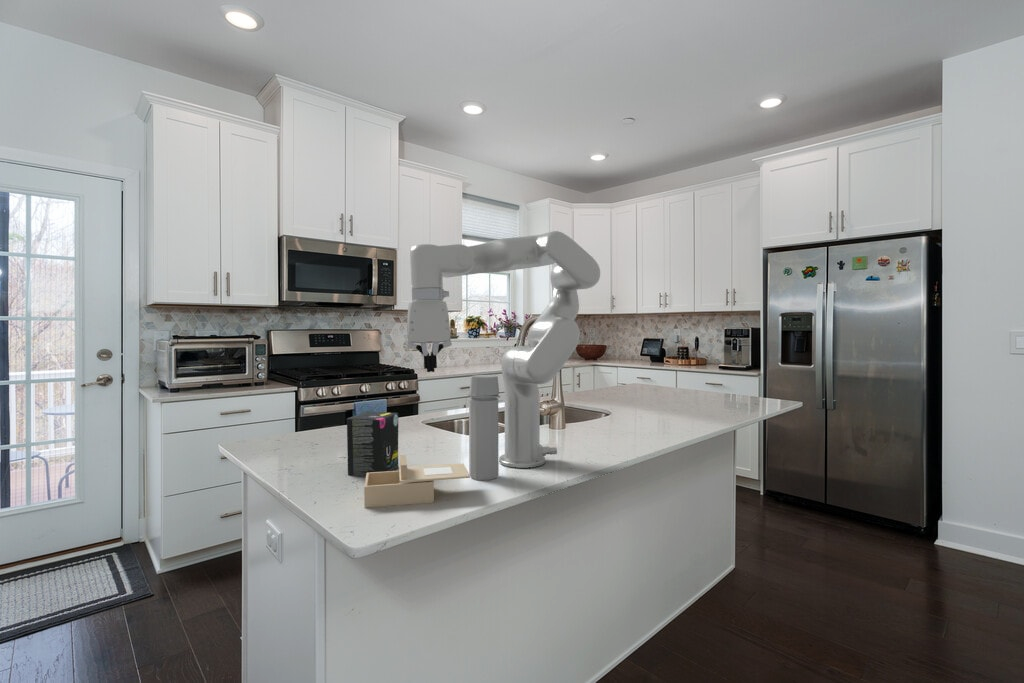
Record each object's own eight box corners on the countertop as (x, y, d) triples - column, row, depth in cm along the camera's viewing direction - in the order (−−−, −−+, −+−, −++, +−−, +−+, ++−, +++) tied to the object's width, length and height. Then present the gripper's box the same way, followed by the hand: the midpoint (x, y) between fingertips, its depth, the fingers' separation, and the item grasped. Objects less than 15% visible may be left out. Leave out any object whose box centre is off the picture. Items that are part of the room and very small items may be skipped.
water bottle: (489, 484, 120) (489, 378, 119) (462, 479, 124) (461, 376, 123) (509, 474, 128) (509, 375, 127) (482, 470, 132) (482, 373, 131)
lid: (463, 465, 119) (463, 450, 119) (469, 477, 109) (469, 462, 109) (399, 469, 115) (398, 454, 115) (399, 482, 106) (399, 466, 106)
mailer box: (430, 488, 117) (430, 468, 117) (433, 503, 108) (433, 481, 107) (366, 493, 114) (366, 472, 114) (364, 509, 104) (364, 486, 104)
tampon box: (381, 479, 125) (380, 419, 124) (346, 477, 126) (345, 418, 126) (399, 467, 135) (399, 411, 135) (367, 465, 137) (367, 410, 137)
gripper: (456, 296, 130) (458, 368, 131) (395, 297, 126) (398, 371, 127) (460, 295, 123) (463, 371, 124) (396, 296, 119) (400, 375, 120)
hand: (430, 371), depth 125 cm, fingers closed
